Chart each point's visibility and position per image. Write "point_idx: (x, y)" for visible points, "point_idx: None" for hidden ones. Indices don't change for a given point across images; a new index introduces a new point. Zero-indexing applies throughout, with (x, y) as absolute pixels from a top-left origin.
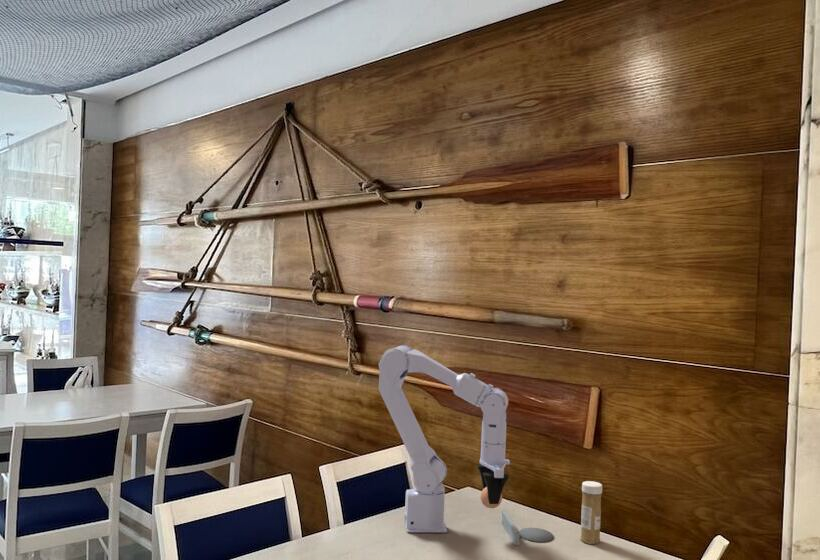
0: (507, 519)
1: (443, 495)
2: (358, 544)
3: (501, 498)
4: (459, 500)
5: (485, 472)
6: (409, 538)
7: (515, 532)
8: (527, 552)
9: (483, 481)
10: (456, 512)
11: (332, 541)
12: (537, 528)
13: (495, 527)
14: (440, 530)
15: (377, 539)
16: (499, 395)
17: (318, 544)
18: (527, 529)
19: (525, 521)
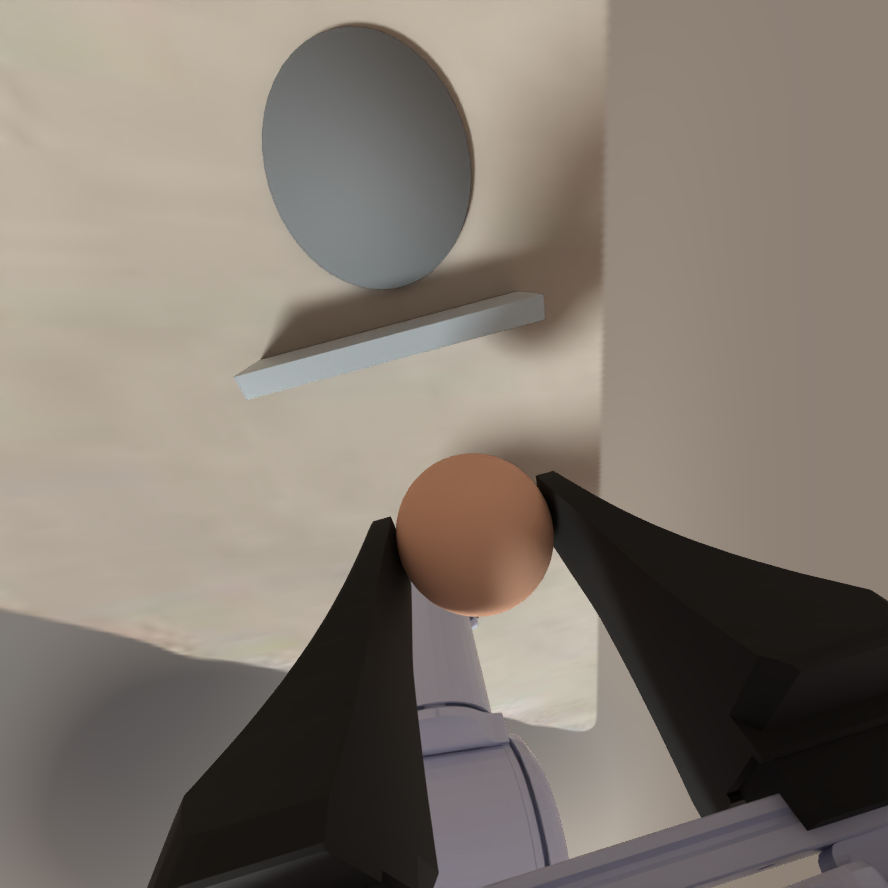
0: (373, 365)
1: (447, 687)
2: (554, 665)
3: (504, 468)
4: (67, 571)
5: (414, 770)
6: None
7: (543, 317)
8: (593, 250)
9: (412, 667)
10: (234, 556)
11: (543, 695)
12: (269, 154)
13: (336, 404)
14: None
15: (524, 651)
16: None
17: (559, 703)
18: (316, 233)
19: (157, 238)
